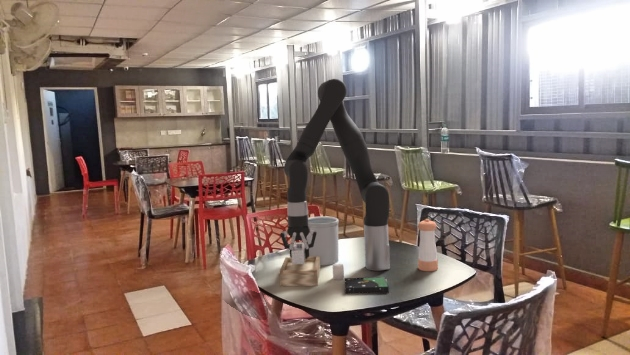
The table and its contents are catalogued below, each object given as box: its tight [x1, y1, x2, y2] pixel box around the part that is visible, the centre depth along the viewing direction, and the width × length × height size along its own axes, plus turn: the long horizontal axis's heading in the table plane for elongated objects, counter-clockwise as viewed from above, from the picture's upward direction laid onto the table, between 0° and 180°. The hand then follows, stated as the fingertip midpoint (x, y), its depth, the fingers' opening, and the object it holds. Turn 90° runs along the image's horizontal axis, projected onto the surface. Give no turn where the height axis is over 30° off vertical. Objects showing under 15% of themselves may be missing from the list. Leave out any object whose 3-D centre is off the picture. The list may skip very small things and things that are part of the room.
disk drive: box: [344, 276, 390, 295], centre depth 165 cm, size 10×3×15 cm
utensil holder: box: [306, 215, 339, 267], centre depth 199 cm, size 15×15×18 cm
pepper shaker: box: [417, 218, 439, 272], centre depth 182 cm, size 7×7×19 cm
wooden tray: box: [279, 256, 321, 287], centre depth 179 cm, size 13×17×6 cm
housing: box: [291, 241, 306, 264], centre depth 178 cm, size 12×4×6 cm, turn 176°
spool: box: [332, 263, 345, 281], centre depth 176 cm, size 4×4×5 cm
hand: (299, 258), depth 179 cm, fingers closed on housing, 4 cm apart
